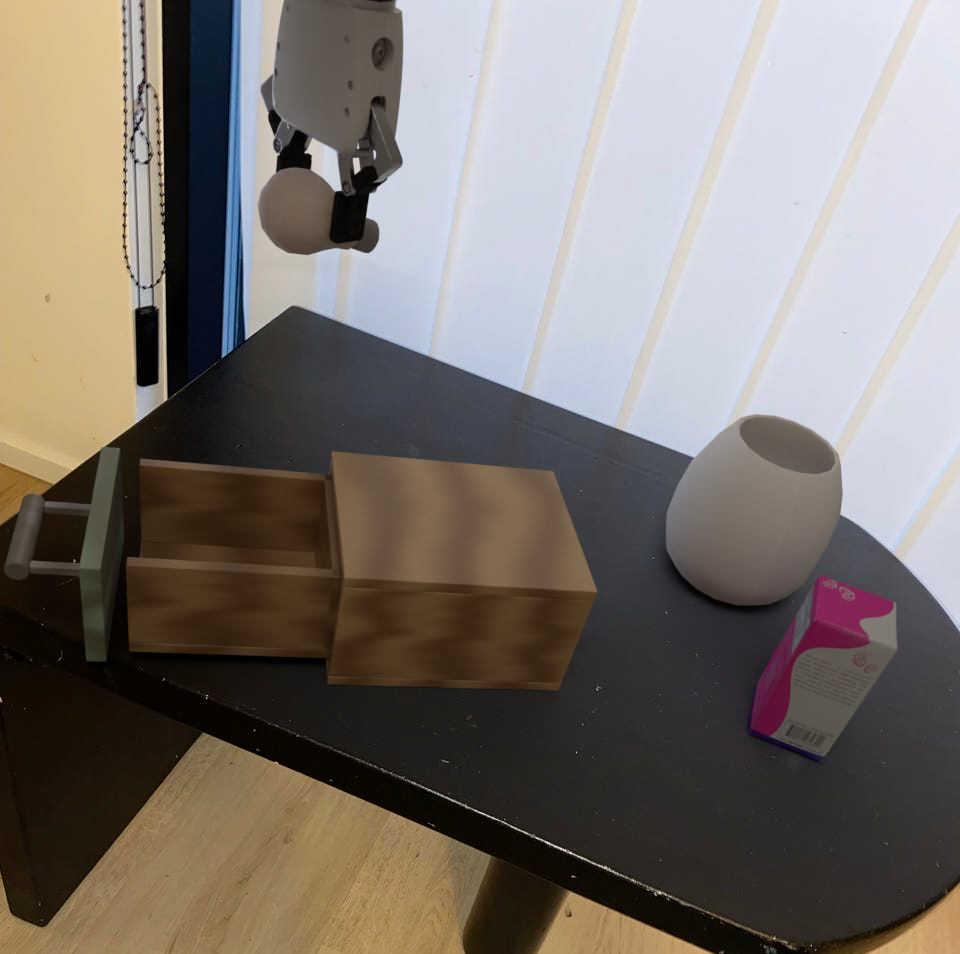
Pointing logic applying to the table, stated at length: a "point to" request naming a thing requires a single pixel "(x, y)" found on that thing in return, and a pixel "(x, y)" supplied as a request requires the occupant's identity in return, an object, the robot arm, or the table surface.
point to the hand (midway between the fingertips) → (317, 220)
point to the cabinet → (454, 576)
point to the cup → (755, 510)
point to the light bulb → (304, 214)
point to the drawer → (202, 559)
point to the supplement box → (823, 667)
